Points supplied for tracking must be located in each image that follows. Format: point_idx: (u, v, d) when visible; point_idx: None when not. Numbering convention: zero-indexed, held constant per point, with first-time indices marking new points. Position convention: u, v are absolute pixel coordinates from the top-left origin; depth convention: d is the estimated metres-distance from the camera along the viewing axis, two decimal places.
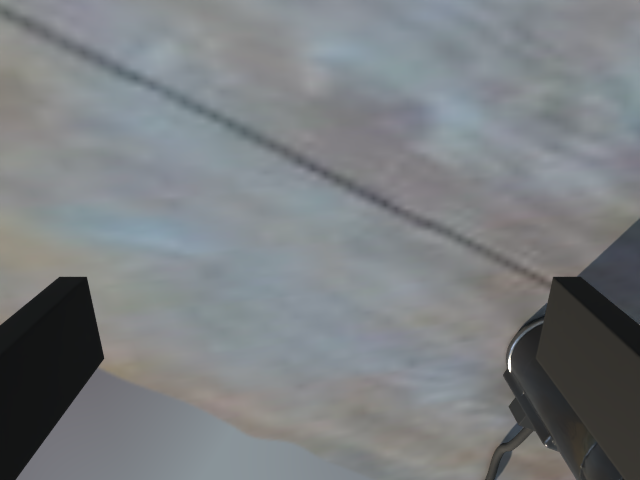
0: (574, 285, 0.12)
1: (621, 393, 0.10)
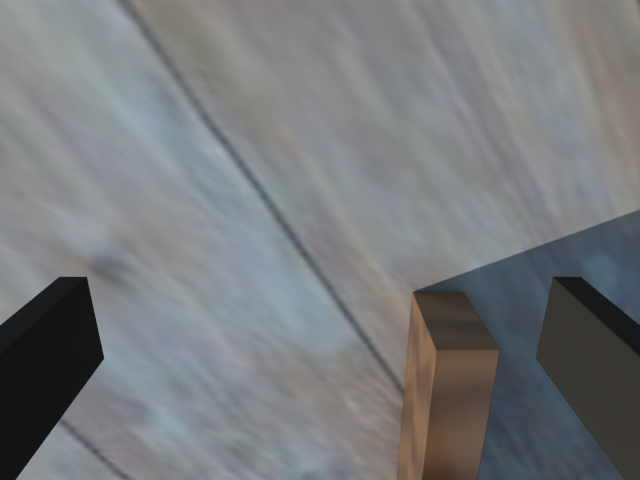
0: (574, 285, 0.12)
1: (621, 393, 0.10)
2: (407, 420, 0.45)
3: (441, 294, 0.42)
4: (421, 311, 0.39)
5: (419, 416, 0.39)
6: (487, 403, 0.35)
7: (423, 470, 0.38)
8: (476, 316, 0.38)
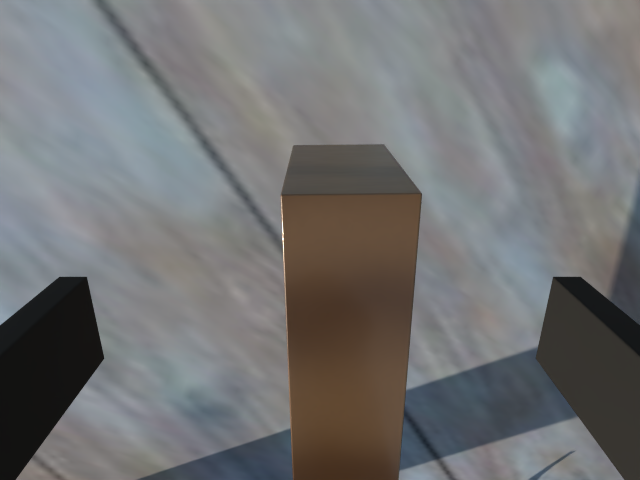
0: (574, 285, 0.12)
1: (621, 393, 0.10)
2: None
3: (343, 146, 0.23)
4: (291, 159, 0.20)
5: None
6: (404, 320, 0.17)
7: (294, 459, 0.20)
8: (393, 162, 0.20)
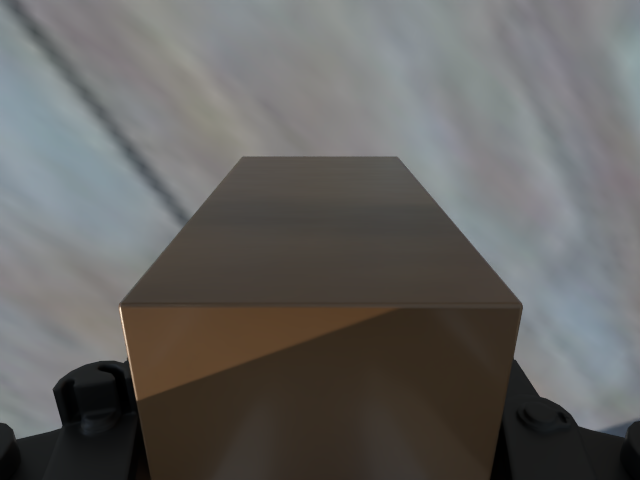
0: None
1: None
2: None
3: (327, 160, 0.13)
4: (221, 185, 0.11)
5: None
6: None
7: None
8: (420, 195, 0.10)
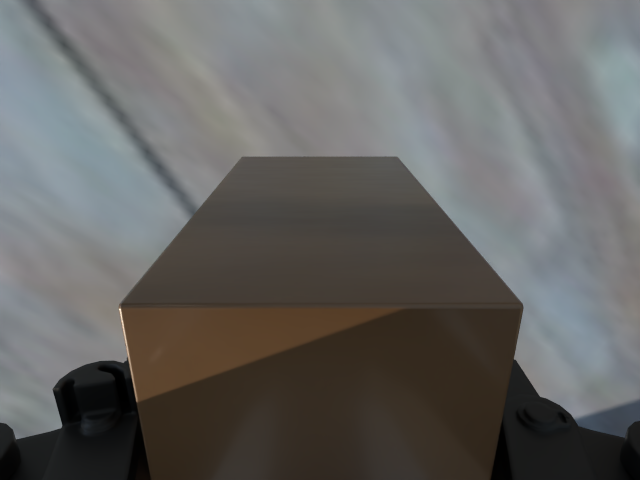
0: None
1: None
2: None
3: (326, 160, 0.13)
4: (221, 185, 0.11)
5: None
6: None
7: None
8: (420, 195, 0.10)
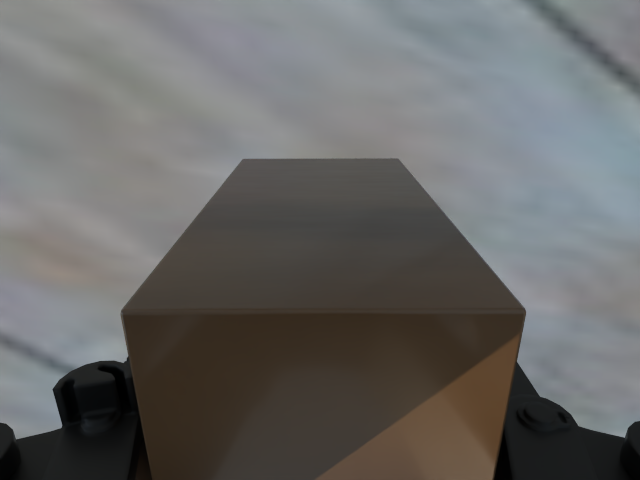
0: None
1: None
2: None
3: (327, 162, 0.13)
4: (222, 188, 0.10)
5: None
6: None
7: None
8: (421, 198, 0.10)
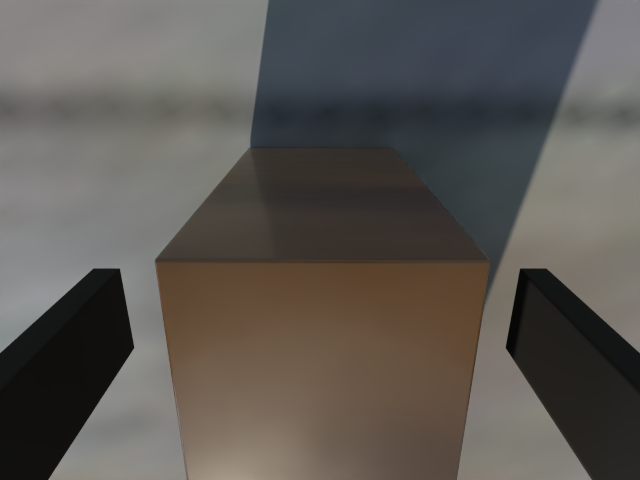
0: (539, 276, 0.12)
1: (575, 377, 0.10)
2: None
3: (327, 150, 0.14)
4: (232, 171, 0.12)
5: None
6: None
7: None
8: (411, 179, 0.11)
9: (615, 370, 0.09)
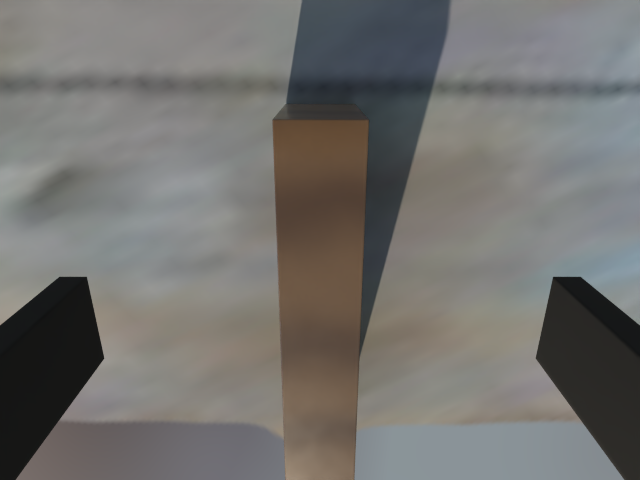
0: (574, 285, 0.12)
1: (621, 393, 0.10)
2: None
3: (323, 104, 0.30)
4: (283, 108, 0.28)
5: None
6: (360, 216, 0.24)
7: (281, 329, 0.27)
8: (357, 110, 0.27)
9: None
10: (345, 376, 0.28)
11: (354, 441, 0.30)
